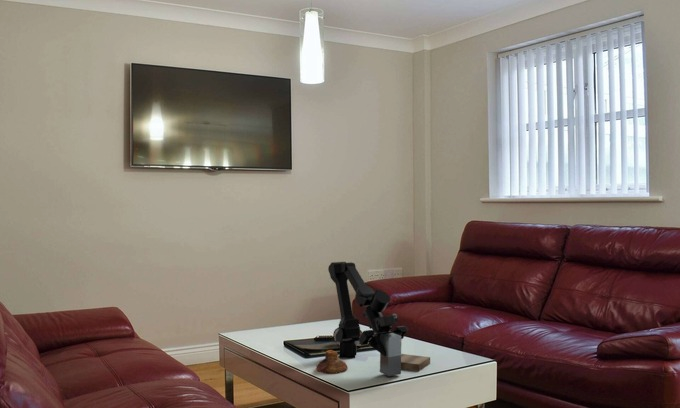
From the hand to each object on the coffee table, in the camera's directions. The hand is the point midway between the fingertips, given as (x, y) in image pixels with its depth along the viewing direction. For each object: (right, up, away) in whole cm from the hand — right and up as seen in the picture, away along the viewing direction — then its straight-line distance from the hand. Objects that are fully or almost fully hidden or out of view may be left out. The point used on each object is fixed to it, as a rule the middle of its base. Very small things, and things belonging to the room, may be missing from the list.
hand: (392, 354), depth 227 cm
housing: (-1, -7, +1) cm, 7 cm away
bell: (-22, -8, +10) cm, 26 cm away
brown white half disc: (-15, -8, +48) cm, 51 cm away
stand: (+8, -8, +15) cm, 19 cm away
